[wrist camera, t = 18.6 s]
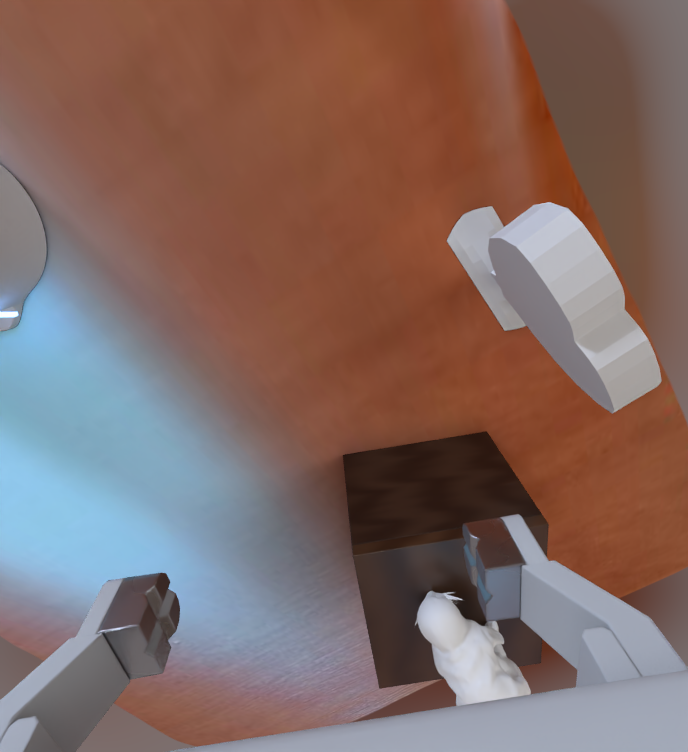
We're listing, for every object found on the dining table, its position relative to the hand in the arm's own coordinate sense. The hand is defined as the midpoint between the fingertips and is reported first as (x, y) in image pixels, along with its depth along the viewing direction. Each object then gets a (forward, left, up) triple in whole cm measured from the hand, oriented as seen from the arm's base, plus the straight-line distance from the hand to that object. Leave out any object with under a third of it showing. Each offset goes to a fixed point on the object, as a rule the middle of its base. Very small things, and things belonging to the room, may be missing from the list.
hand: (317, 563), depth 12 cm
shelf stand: (+8, -30, -34) cm, 46 cm away
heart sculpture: (+18, -2, -34) cm, 39 cm away
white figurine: (+8, -30, -19) cm, 37 cm away
